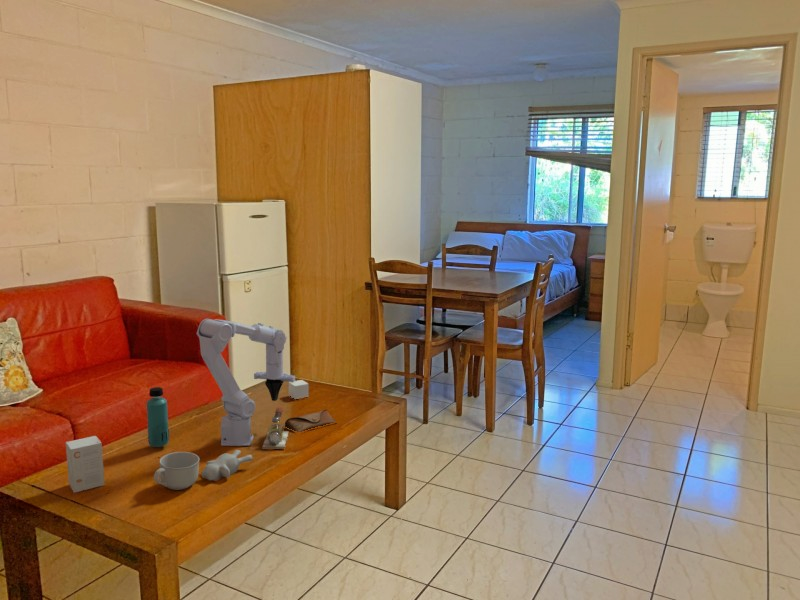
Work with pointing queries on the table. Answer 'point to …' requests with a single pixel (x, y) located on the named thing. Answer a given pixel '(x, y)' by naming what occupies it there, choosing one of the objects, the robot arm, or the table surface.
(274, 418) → the valve lever
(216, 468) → the bunny figurine
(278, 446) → the mounting board
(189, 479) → the teacup
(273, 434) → the valve pipe
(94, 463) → the small box
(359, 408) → the table surface
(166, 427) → the beverage bottle
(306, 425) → the sunglasses case
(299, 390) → the white cube
